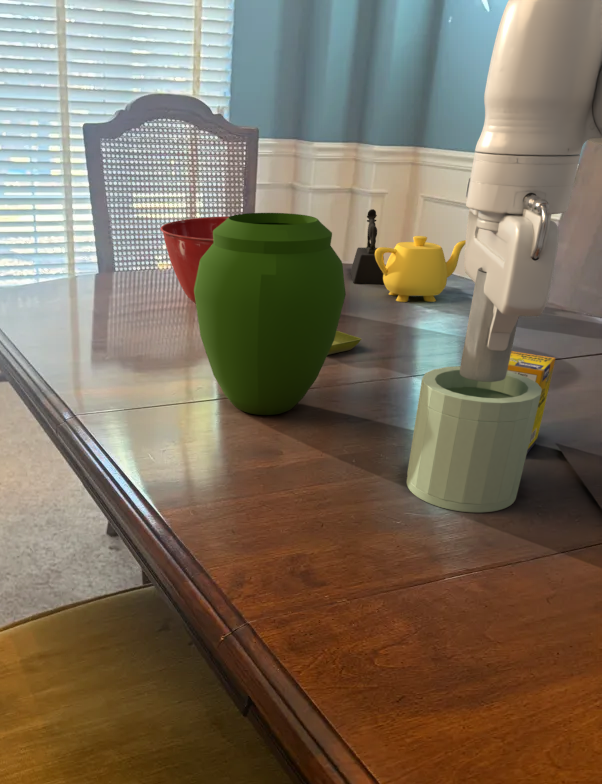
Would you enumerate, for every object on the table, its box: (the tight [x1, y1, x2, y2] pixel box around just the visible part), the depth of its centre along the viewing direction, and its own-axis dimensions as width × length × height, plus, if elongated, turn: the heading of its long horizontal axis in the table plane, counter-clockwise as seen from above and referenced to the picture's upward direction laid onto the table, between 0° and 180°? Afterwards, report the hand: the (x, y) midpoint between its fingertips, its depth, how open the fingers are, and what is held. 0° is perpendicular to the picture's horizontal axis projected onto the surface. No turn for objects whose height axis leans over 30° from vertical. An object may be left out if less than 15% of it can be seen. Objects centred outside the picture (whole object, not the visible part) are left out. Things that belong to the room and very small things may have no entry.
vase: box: [194, 212, 347, 416], centre depth 101 cm, size 20×20×24 cm
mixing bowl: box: [160, 216, 230, 305], centre depth 155 cm, size 28×28×16 cm
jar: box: [406, 365, 542, 514], centre depth 82 cm, size 12×12×12 cm
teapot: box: [375, 235, 466, 303], centre depth 164 cm, size 13×20×12 cm
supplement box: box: [507, 350, 556, 455], centre depth 93 cm, size 6×6×11 cm
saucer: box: [327, 329, 362, 356], centre depth 131 cm, size 9×9×2 cm
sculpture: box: [349, 208, 385, 285], centre depth 180 cm, size 8×13×15 cm, turn 171°
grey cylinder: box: [459, 267, 519, 382], centre depth 76 cm, size 4×4×10 cm
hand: (489, 340), depth 77 cm, fingers closed on grey cylinder, 4 cm apart
